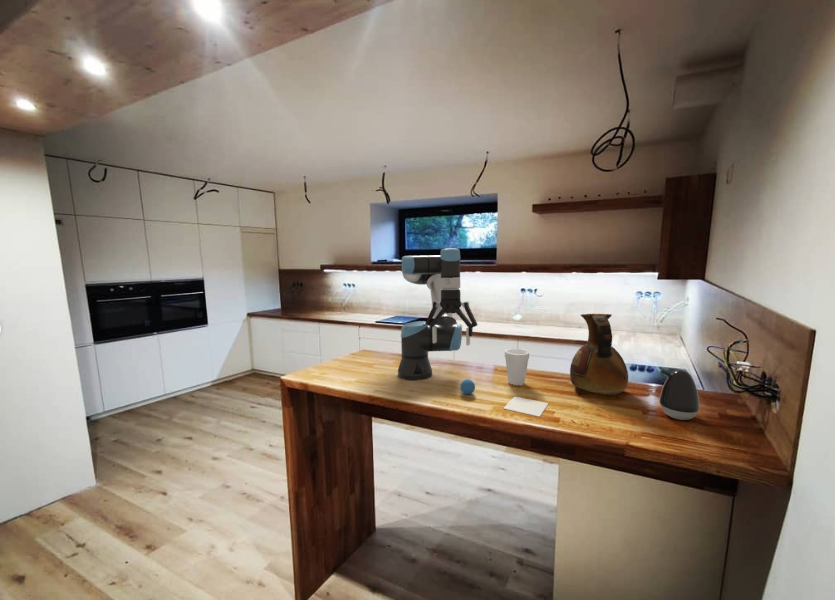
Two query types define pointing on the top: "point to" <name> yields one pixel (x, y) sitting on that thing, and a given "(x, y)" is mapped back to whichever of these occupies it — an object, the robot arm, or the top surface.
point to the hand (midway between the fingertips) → (451, 343)
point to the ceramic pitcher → (599, 360)
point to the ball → (467, 386)
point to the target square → (526, 406)
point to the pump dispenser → (679, 395)
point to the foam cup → (516, 365)
